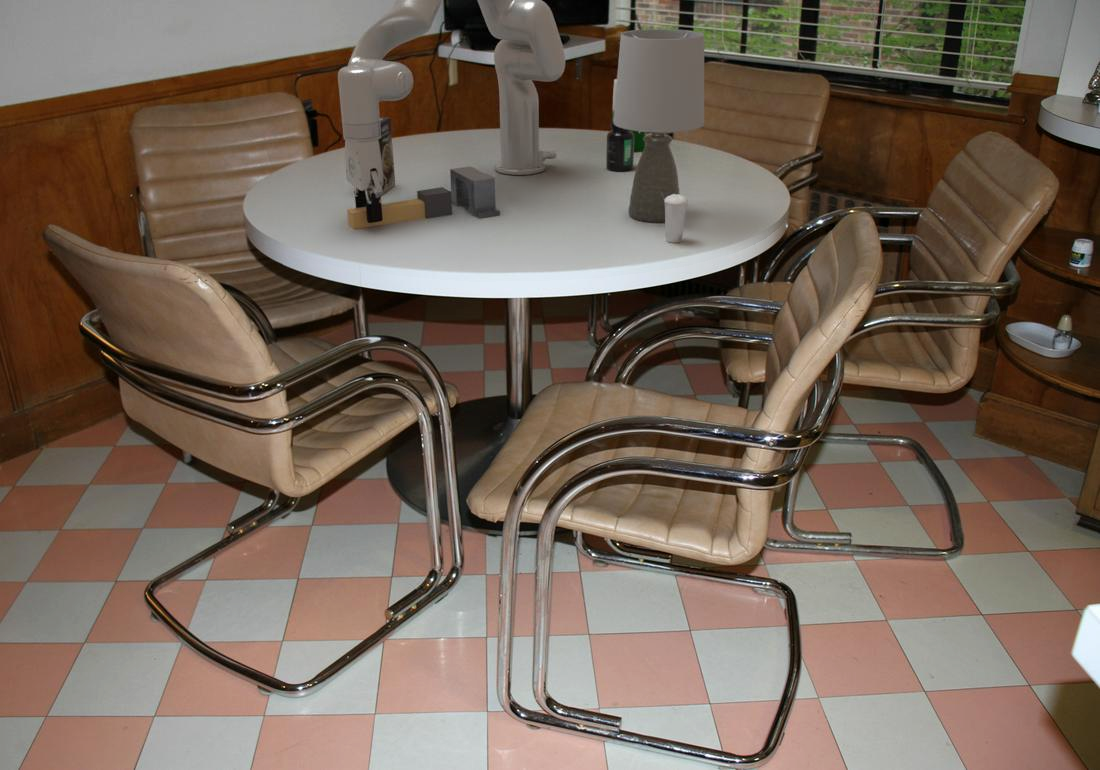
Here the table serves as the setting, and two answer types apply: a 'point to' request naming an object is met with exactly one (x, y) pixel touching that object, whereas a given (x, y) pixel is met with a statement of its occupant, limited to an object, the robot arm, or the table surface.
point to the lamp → (658, 107)
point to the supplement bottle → (619, 149)
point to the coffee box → (386, 155)
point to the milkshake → (674, 217)
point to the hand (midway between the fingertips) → (369, 217)
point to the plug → (407, 209)
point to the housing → (474, 191)
